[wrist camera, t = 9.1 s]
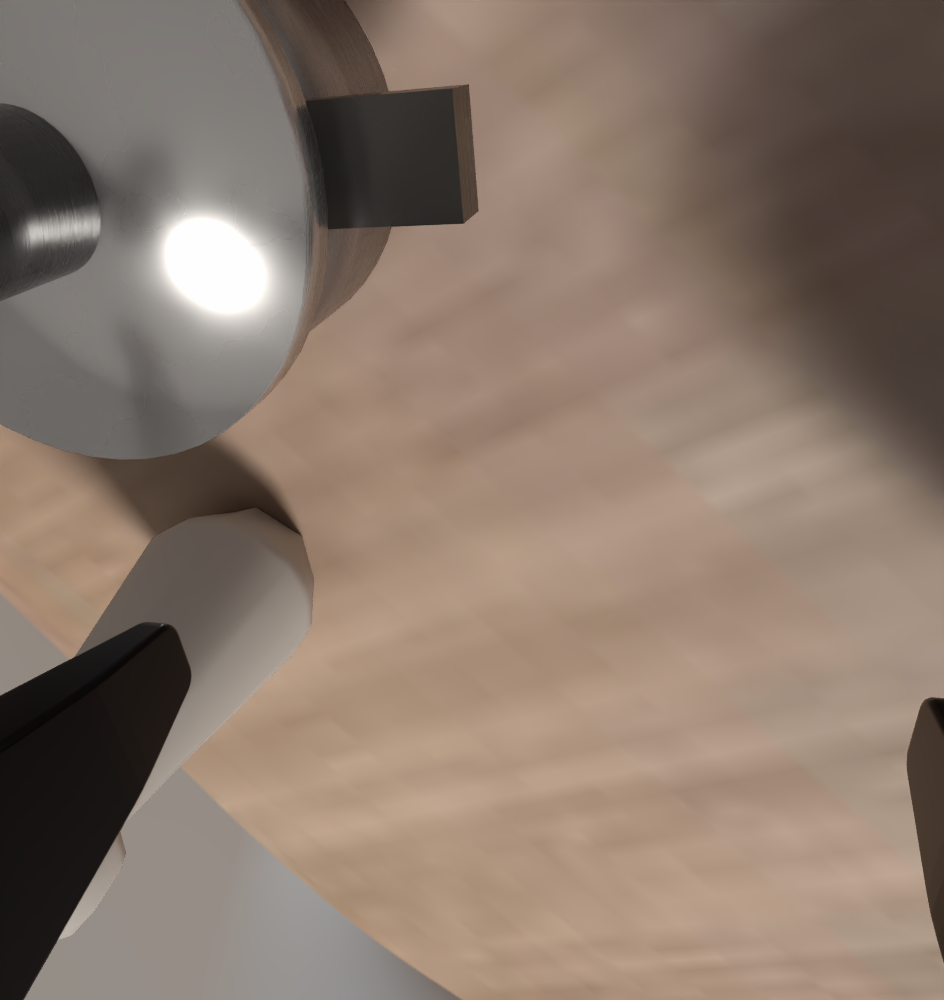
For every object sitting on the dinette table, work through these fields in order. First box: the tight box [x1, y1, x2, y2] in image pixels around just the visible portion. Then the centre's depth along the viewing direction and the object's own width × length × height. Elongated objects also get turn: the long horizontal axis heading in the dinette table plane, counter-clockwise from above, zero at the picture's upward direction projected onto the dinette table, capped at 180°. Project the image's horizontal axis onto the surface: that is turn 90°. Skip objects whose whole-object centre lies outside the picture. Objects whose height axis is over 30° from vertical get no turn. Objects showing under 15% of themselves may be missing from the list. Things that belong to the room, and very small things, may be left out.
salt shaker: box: [58, 507, 314, 940], centre depth 22 cm, size 6×6×13 cm
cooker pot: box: [257, 0, 478, 331], centre depth 17 cm, size 16×10×6 cm, turn 95°
